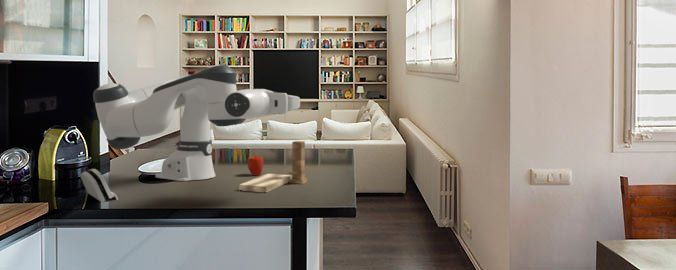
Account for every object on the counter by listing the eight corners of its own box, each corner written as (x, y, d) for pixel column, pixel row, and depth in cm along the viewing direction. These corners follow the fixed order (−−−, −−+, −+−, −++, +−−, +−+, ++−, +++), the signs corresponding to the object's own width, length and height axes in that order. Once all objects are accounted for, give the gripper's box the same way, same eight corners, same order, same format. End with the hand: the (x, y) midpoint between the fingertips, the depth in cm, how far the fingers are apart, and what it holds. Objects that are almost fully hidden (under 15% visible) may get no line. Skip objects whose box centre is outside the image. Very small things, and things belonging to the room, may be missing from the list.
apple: (244, 174, 201) (244, 156, 200) (256, 172, 206) (256, 154, 205) (254, 176, 197) (253, 157, 196) (266, 174, 201) (266, 156, 200)
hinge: (118, 199, 157) (106, 170, 154) (103, 207, 155) (90, 177, 152) (103, 190, 170) (91, 163, 167) (89, 197, 168) (76, 169, 164)
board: (239, 190, 172) (239, 184, 172) (267, 178, 193) (267, 173, 193) (266, 192, 169) (266, 186, 169) (291, 180, 190) (291, 175, 190)
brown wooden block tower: (285, 182, 186) (284, 142, 184) (290, 180, 191) (290, 140, 189) (302, 184, 184) (302, 142, 182) (307, 181, 189) (307, 141, 187)
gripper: (231, 112, 164) (251, 110, 177) (290, 113, 158) (306, 111, 171) (230, 92, 163) (250, 91, 176) (290, 93, 157) (306, 92, 170)
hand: (278, 101), depth 173 cm, fingers open, 8 cm apart
